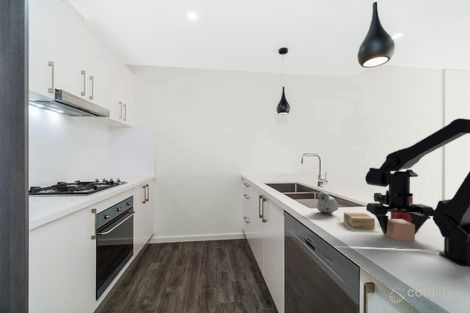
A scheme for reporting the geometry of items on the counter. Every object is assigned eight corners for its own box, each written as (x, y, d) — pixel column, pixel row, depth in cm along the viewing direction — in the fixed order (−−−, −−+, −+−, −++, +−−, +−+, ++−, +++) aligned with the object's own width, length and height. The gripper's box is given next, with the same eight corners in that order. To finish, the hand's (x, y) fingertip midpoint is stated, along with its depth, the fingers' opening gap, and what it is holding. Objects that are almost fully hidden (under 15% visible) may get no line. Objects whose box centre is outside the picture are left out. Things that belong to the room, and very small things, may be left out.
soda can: (416, 227, 82) (417, 197, 82) (396, 225, 84) (396, 196, 84) (405, 221, 90) (406, 193, 90) (387, 220, 91) (387, 193, 91)
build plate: (388, 234, 75) (388, 232, 75) (353, 232, 76) (353, 231, 76) (364, 220, 91) (364, 218, 91) (336, 219, 92) (336, 218, 92)
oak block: (374, 229, 78) (374, 218, 78) (352, 228, 79) (352, 218, 79) (363, 222, 86) (363, 212, 86) (343, 221, 87) (343, 212, 87)
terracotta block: (414, 243, 68) (414, 224, 68) (395, 242, 68) (395, 224, 68) (401, 235, 74) (401, 219, 74) (383, 235, 74) (384, 218, 74)
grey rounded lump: (343, 218, 92) (341, 191, 94) (321, 217, 93) (320, 190, 95) (333, 216, 102) (332, 191, 104) (314, 215, 103) (313, 191, 105)
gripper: (410, 185, 78) (410, 227, 78) (358, 185, 80) (358, 225, 80) (436, 191, 67) (436, 238, 67) (375, 190, 69) (375, 236, 69)
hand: (398, 234), depth 71 cm, fingers open, 9 cm apart
